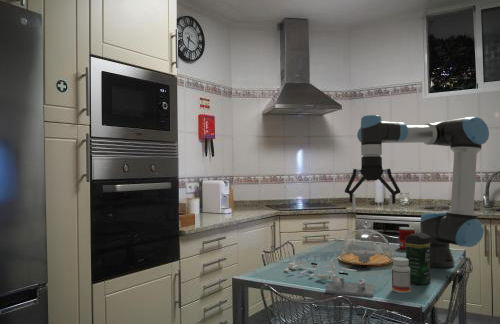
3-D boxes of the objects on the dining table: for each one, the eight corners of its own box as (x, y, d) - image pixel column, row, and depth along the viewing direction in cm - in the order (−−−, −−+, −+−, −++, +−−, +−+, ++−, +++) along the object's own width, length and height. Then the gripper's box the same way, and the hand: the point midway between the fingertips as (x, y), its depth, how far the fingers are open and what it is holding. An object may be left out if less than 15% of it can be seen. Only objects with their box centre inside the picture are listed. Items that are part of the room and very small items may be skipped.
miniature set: (360, 277, 155) (341, 288, 147) (295, 268, 181) (275, 277, 174) (357, 260, 155) (338, 271, 147) (292, 254, 181) (273, 262, 173)
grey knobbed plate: (375, 287, 147) (374, 277, 147) (373, 297, 135) (373, 286, 135) (330, 283, 152) (330, 274, 152) (325, 292, 141) (325, 282, 141)
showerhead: (355, 251, 174) (351, 247, 184) (355, 268, 174) (351, 263, 184) (377, 252, 174) (372, 247, 183) (377, 268, 173) (372, 263, 183)
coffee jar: (424, 286, 146) (422, 235, 147) (402, 282, 152) (401, 233, 152) (434, 281, 153) (433, 232, 154) (413, 277, 159) (412, 230, 159)
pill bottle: (397, 287, 146) (396, 256, 146) (413, 291, 142) (413, 258, 142) (388, 291, 142) (388, 258, 142) (405, 294, 137) (404, 261, 138)
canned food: (413, 250, 211) (413, 229, 211) (397, 248, 216) (397, 228, 216) (416, 247, 218) (416, 227, 218) (401, 246, 222) (400, 226, 222)
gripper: (406, 155, 152) (407, 211, 152) (339, 157, 161) (340, 210, 161) (406, 155, 145) (407, 213, 145) (336, 156, 154) (337, 211, 154)
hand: (372, 211), depth 153 cm, fingers open, 13 cm apart
